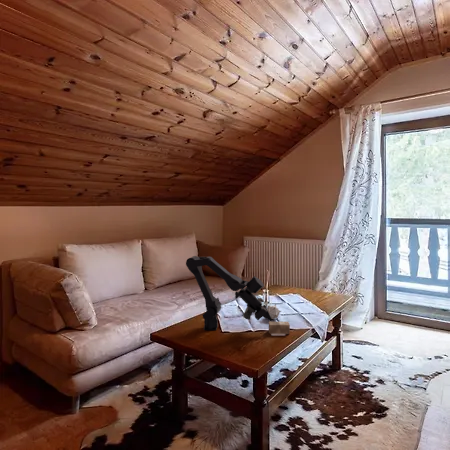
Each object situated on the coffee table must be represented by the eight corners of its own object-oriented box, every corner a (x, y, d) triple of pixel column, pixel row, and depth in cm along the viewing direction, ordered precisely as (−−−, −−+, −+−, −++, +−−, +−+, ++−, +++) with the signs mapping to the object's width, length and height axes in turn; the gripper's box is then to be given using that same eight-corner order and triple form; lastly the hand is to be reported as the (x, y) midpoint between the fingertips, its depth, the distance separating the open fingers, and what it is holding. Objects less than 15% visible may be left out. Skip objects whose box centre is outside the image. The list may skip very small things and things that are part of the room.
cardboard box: (269, 324, 176) (289, 324, 176) (268, 321, 180) (288, 321, 180) (269, 333, 176) (289, 333, 176) (268, 330, 181) (288, 330, 181)
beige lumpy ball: (275, 326, 196) (280, 316, 190) (261, 320, 198) (265, 309, 191) (279, 314, 203) (284, 304, 197) (265, 308, 204) (270, 297, 198)
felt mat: (271, 335, 175) (271, 334, 175) (269, 329, 182) (269, 329, 182) (285, 335, 175) (285, 334, 175) (283, 329, 182) (283, 329, 182)
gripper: (237, 303, 187) (258, 323, 188) (238, 315, 168) (261, 338, 169) (252, 289, 186) (273, 309, 187) (255, 300, 168) (277, 322, 168)
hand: (270, 319), depth 178 cm, fingers closed
